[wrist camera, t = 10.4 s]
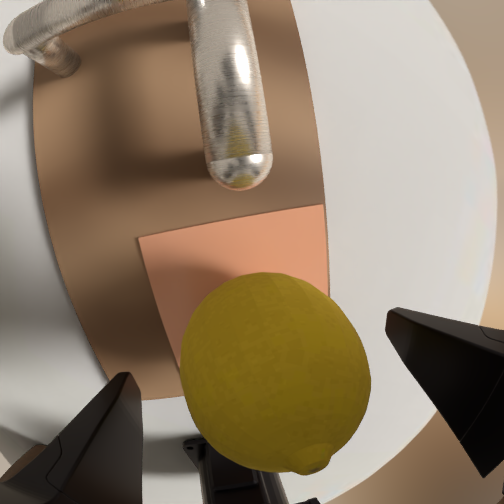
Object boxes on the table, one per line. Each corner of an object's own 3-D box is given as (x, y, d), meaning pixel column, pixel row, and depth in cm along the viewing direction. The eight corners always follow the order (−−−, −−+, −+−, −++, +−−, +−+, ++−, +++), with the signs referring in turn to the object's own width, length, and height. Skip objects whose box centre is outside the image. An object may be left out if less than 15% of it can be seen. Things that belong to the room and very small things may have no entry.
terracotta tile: (326, 346, 14) (327, 349, 13) (185, 380, 13) (185, 382, 12) (321, 203, 11) (323, 204, 11) (139, 236, 10) (138, 238, 10)
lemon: (166, 336, 11) (156, 505, 4) (214, 223, 10) (262, 355, 3) (272, 366, 13) (331, 502, 6) (327, 273, 12) (456, 384, 5)
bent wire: (247, 179, 10) (285, 187, 6) (68, 219, 9) (1, 253, 5) (222, 14, 8) (240, -56, 3) (54, 58, 7) (-1, 19, 2)
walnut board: (322, 352, 15) (329, 361, 14) (125, 390, 13) (122, 401, 12) (276, -18, 8) (281, -28, 7) (48, 26, 7) (41, 19, 6)
